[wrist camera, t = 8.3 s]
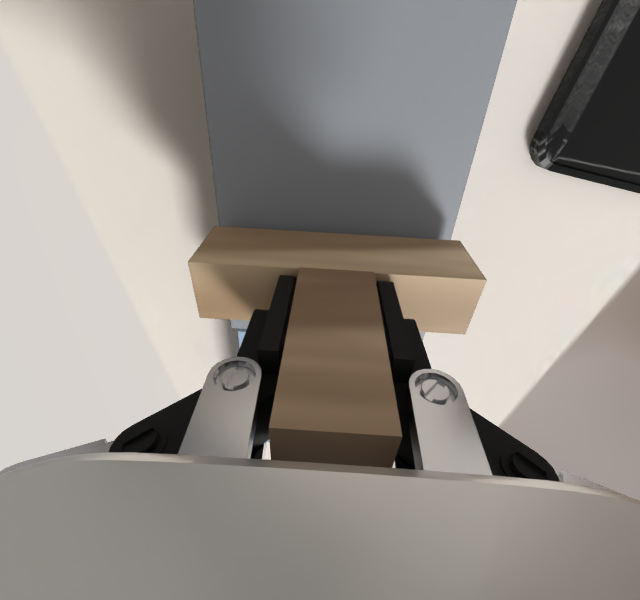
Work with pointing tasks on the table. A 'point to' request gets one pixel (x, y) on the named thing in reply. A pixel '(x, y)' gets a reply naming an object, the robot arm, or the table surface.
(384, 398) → the scraper
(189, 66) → the table surface
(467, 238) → the table surface
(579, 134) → the phone
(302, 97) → the gray rectangular block
